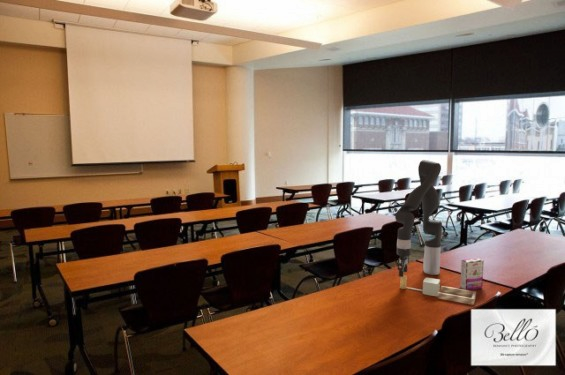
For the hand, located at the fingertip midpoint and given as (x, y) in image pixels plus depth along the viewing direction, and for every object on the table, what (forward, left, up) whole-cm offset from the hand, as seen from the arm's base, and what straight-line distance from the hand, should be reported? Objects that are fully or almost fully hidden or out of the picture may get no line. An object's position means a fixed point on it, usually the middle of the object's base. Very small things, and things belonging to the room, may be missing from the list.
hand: (403, 274), depth 229 cm
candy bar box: (+11, +36, -8) cm, 39 cm away
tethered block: (+7, +6, -8) cm, 12 cm away
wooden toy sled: (+20, +19, -8) cm, 29 cm away
